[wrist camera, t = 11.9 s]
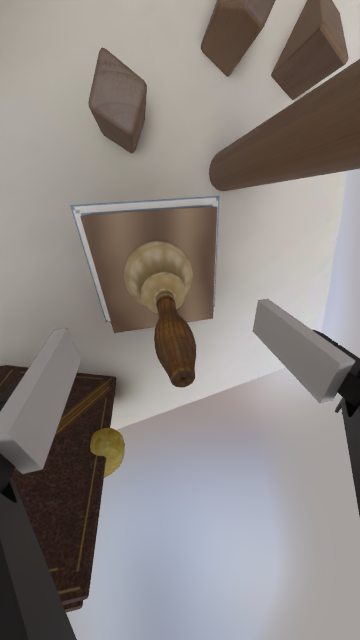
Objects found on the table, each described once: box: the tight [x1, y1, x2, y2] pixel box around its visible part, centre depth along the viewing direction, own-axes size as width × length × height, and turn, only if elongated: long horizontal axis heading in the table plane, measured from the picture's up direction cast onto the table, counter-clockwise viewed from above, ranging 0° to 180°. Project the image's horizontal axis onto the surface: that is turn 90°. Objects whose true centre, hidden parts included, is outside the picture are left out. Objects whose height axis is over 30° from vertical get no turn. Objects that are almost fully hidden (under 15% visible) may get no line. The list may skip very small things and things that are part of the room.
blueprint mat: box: [70, 196, 219, 322], centre depth 28 cm, size 18×16×1 cm
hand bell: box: [123, 241, 196, 387], centre depth 16 cm, size 8×8×16 cm
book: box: [0, 365, 125, 612], centre depth 25 cm, size 22×8×25 cm, turn 70°
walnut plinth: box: [80, 206, 217, 333], centre depth 25 cm, size 14×14×5 cm
